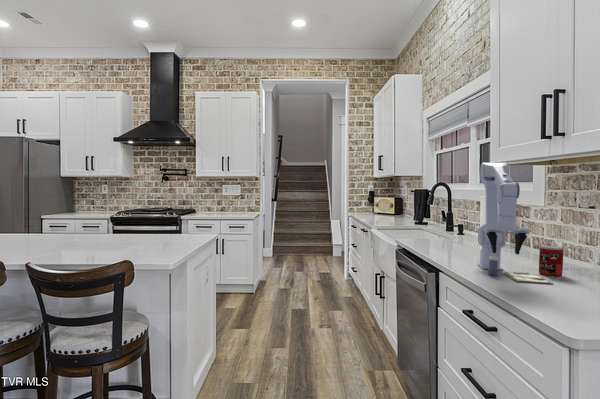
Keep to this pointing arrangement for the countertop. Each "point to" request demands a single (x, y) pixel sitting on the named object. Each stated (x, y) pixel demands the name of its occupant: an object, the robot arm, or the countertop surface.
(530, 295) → the countertop surface
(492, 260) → the blue-grey cylinder
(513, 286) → the countertop surface
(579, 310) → the countertop surface
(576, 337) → the countertop surface
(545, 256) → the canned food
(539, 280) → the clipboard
